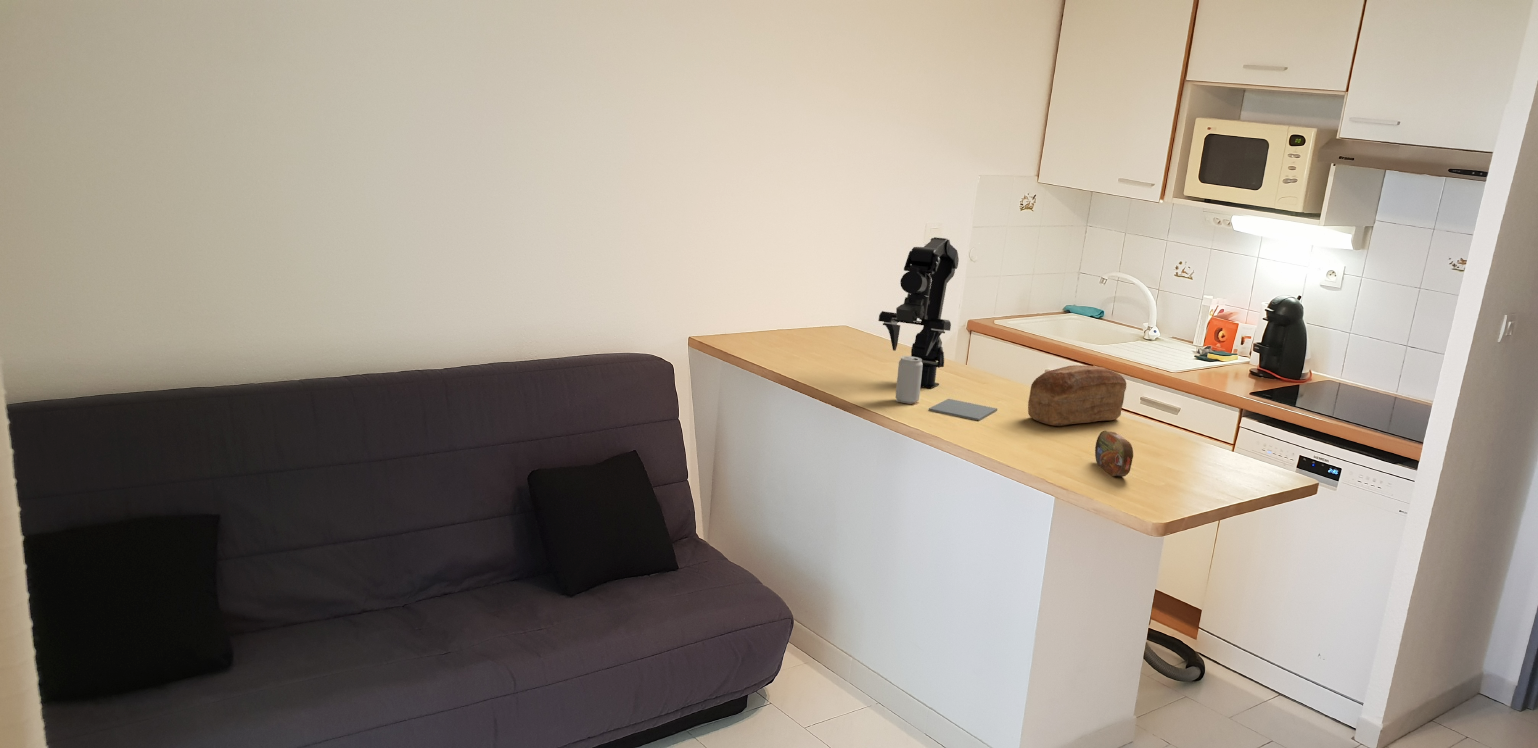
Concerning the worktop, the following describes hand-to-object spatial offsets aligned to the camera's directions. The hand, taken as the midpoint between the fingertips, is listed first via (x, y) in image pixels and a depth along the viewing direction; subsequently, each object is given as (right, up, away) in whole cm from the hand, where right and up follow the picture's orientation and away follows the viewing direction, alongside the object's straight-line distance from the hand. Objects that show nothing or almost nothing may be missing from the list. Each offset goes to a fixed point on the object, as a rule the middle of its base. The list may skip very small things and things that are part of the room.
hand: (910, 353), depth 285 cm
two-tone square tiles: (0, -13, +3) cm, 14 cm away
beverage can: (0, -13, +3) cm, 14 cm away
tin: (+40, -28, -44) cm, 66 cm away
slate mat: (+14, -15, -1) cm, 21 cm away
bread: (+43, -18, -2) cm, 47 cm away
